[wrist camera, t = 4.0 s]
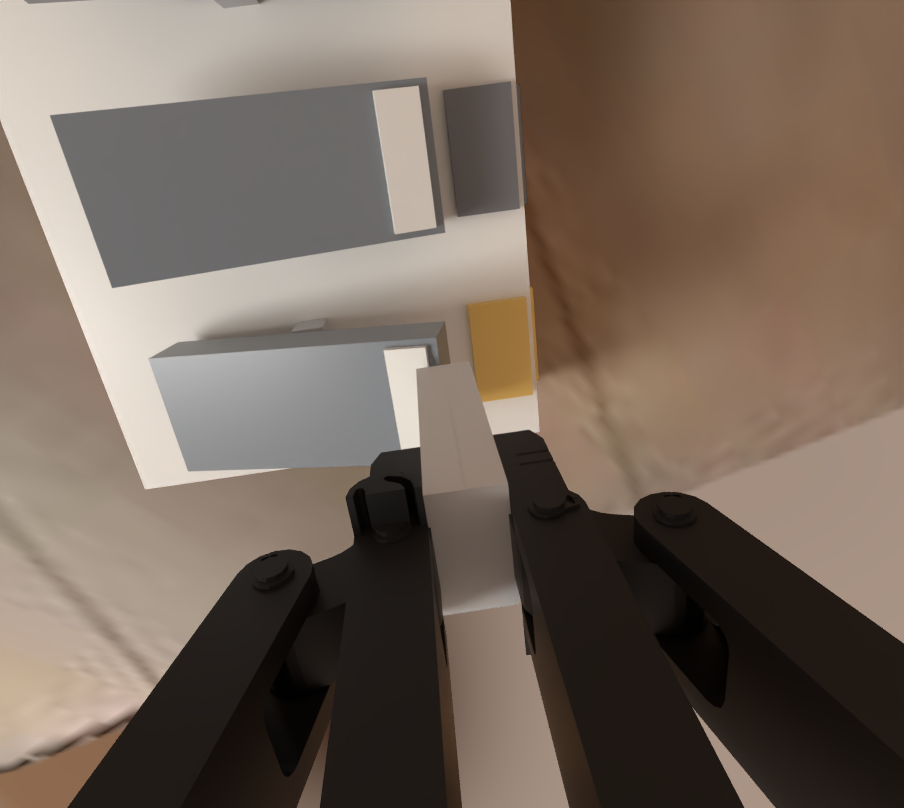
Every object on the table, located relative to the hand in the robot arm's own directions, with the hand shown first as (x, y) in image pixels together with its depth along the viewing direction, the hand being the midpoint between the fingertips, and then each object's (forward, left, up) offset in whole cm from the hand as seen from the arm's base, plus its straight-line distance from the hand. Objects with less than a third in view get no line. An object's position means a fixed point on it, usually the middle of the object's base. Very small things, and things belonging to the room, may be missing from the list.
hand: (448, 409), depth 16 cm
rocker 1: (-4, +7, -3) cm, 8 cm away
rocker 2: (-4, 0, -3) cm, 5 cm away
